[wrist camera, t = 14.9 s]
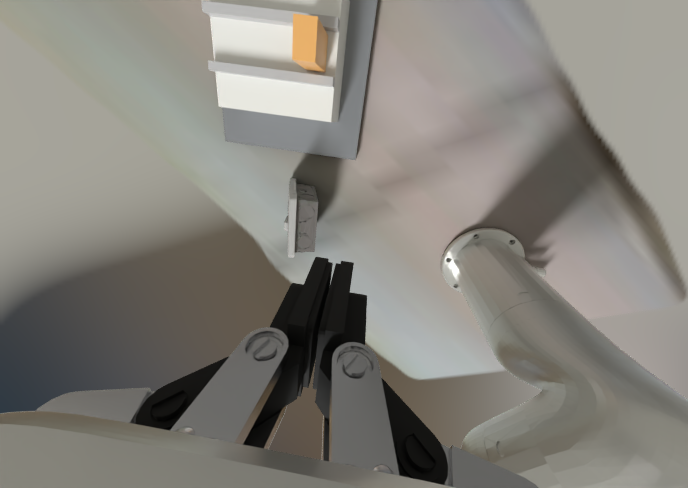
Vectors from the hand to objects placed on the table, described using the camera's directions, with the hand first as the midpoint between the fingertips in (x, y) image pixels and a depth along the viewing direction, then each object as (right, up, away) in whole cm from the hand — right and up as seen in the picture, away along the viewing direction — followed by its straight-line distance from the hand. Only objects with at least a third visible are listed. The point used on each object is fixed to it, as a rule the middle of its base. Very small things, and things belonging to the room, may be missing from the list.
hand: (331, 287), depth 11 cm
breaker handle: (-2, +21, +14) cm, 25 cm away
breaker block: (-6, +25, +21) cm, 33 cm away
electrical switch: (-6, +8, +30) cm, 31 cm away
